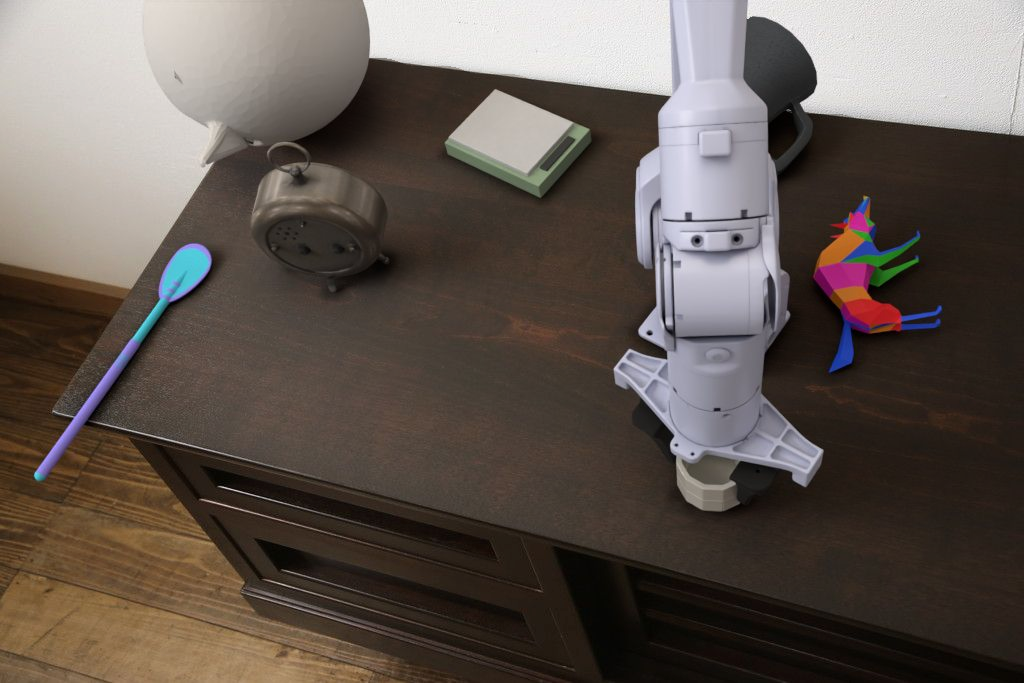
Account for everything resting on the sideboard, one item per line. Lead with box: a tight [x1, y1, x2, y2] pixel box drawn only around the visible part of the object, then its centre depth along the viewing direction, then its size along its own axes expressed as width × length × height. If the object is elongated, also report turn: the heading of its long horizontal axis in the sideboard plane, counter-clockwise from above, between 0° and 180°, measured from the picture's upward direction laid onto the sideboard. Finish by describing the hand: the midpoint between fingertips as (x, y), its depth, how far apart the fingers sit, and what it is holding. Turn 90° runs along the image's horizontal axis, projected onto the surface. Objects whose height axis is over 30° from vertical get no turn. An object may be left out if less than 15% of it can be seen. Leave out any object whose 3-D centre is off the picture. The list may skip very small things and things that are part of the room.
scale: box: [444, 89, 592, 199], centre depth 100 cm, size 11×8×2 cm
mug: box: [743, 15, 818, 177], centre depth 95 cm, size 12×9×11 cm
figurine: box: [813, 195, 943, 374], centre depth 85 cm, size 4×15×9 cm
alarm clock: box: [249, 141, 390, 293], centre depth 89 cm, size 11×5×16 cm, turn 84°
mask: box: [141, 0, 371, 168], centre depth 100 cm, size 22×18×20 cm
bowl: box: [675, 454, 741, 512], centre depth 77 cm, size 5×5×4 cm
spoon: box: [33, 242, 213, 482], centre depth 93 cm, size 25×4×1 cm, turn 156°
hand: (713, 472), depth 78 cm, fingers closed on bowl, 5 cm apart
